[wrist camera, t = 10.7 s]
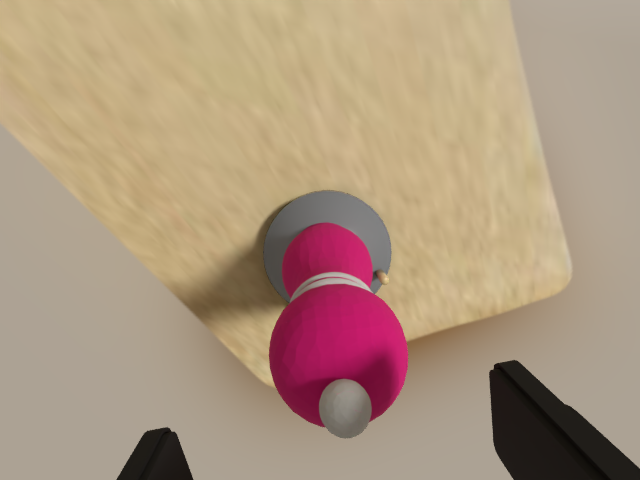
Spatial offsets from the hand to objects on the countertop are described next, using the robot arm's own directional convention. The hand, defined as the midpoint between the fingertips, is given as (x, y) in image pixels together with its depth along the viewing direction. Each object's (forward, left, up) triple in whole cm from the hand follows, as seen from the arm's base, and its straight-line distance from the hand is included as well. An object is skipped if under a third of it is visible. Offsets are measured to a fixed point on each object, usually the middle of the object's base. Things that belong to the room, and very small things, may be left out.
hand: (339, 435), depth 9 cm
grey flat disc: (+1, 0, -22) cm, 22 cm away
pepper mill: (0, 0, -21) cm, 21 cm away
